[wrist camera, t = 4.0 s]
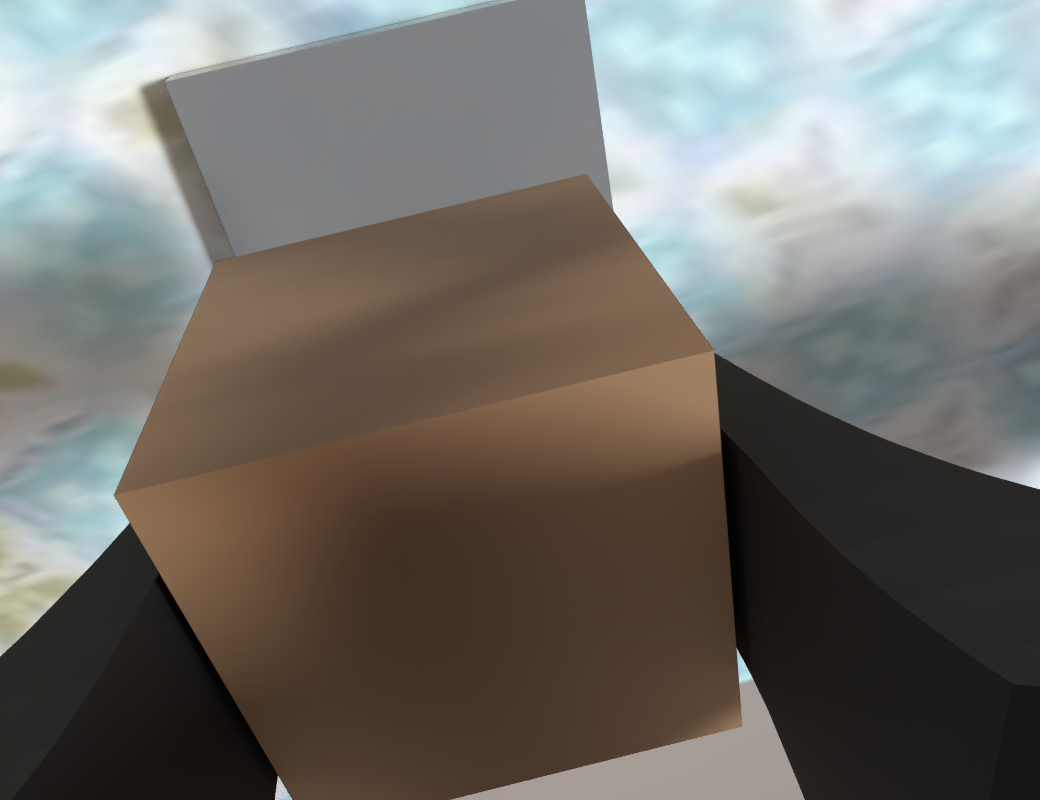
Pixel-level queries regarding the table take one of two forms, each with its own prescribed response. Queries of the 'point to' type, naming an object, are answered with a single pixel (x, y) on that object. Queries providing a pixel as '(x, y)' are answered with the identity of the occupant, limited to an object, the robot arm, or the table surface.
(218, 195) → the slate coaster
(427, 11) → the table surface
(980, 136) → the table surface
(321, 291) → the walnut cube
